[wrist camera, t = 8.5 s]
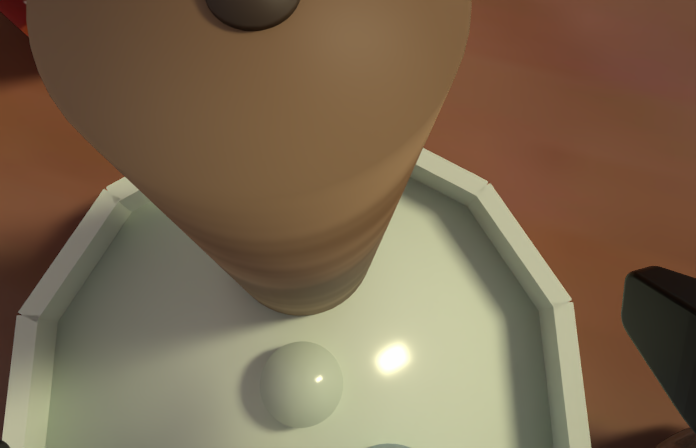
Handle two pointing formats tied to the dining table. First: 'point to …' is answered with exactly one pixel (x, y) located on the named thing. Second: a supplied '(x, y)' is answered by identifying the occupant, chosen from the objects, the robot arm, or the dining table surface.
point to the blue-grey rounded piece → (388, 446)
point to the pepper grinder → (259, 121)
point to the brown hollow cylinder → (680, 440)
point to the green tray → (301, 339)
